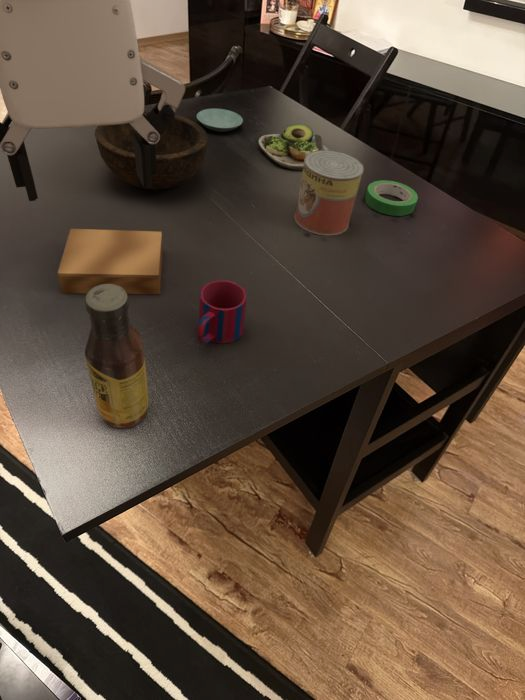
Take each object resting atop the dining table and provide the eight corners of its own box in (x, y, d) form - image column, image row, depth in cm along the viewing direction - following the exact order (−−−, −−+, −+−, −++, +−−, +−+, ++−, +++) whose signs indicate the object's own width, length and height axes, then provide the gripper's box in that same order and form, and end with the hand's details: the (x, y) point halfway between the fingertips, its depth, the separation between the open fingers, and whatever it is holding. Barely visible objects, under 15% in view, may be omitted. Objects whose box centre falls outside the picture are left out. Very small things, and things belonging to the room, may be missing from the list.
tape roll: (355, 192, 107) (358, 181, 106) (396, 188, 111) (399, 177, 109) (381, 219, 101) (385, 208, 99) (423, 213, 104) (428, 202, 102)
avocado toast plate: (350, 171, 114) (355, 152, 111) (283, 179, 108) (286, 159, 105) (312, 137, 126) (315, 118, 123) (250, 142, 120) (251, 123, 116)
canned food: (283, 211, 99) (292, 154, 90) (327, 201, 103) (340, 146, 95) (314, 240, 93) (327, 182, 84) (359, 229, 97) (376, 173, 89)
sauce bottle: (95, 398, 62) (65, 277, 48) (143, 386, 64) (129, 267, 50) (105, 439, 58) (76, 321, 44) (155, 425, 60) (144, 308, 46)
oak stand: (62, 293, 75) (57, 273, 72) (74, 248, 83) (70, 228, 80) (160, 294, 77) (158, 275, 74) (162, 250, 85) (161, 231, 82)
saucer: (250, 127, 126) (251, 118, 124) (225, 140, 119) (225, 131, 117) (214, 113, 130) (214, 104, 128) (187, 126, 122) (187, 116, 121)
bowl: (185, 152, 112) (185, 108, 105) (222, 199, 99) (224, 152, 92) (90, 163, 104) (83, 115, 97) (117, 215, 91) (111, 164, 84)
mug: (251, 325, 74) (255, 292, 70) (213, 364, 68) (215, 330, 63) (216, 307, 76) (218, 273, 72) (176, 343, 70) (175, 308, 65)
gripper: (166, -66, 35) (173, 159, 48) (-110, -87, 29) (-20, 176, 42) (198, -45, 31) (196, 197, 43) (-120, -65, 25) (-16, 222, 37)
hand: (90, 186), depth 42 cm, fingers open, 9 cm apart
